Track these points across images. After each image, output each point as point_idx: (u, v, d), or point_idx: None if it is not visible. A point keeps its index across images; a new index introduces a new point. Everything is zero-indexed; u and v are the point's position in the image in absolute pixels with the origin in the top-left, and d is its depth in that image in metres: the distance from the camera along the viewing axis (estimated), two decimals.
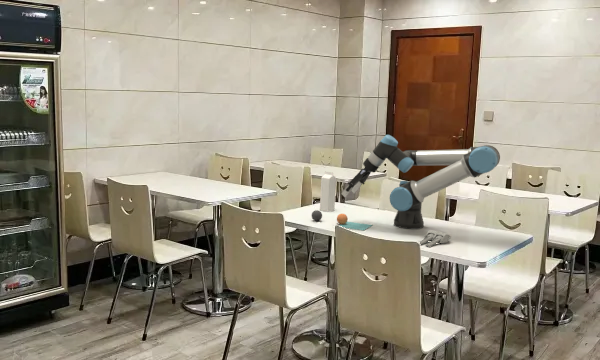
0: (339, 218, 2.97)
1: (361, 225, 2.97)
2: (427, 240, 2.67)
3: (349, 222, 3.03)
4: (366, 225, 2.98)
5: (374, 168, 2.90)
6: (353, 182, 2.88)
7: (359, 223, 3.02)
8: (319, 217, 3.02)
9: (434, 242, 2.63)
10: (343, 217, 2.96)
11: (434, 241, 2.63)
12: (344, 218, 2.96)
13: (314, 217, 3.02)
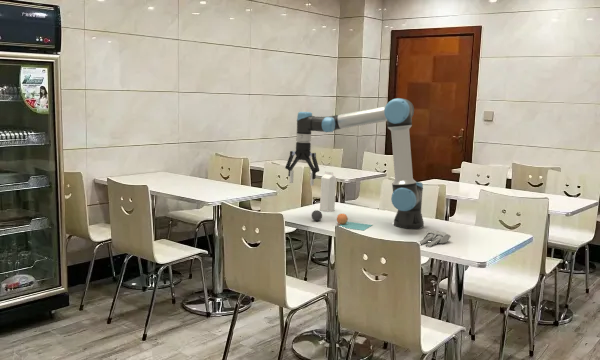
0: (339, 218, 2.97)
1: (361, 225, 2.97)
2: (427, 240, 2.67)
3: (349, 222, 3.03)
4: (366, 225, 2.98)
5: None
6: (317, 167, 3.02)
7: (359, 223, 3.02)
8: (319, 217, 3.02)
9: (434, 242, 2.63)
10: (343, 217, 2.96)
11: (434, 241, 2.64)
12: (344, 218, 2.96)
13: (314, 217, 3.02)
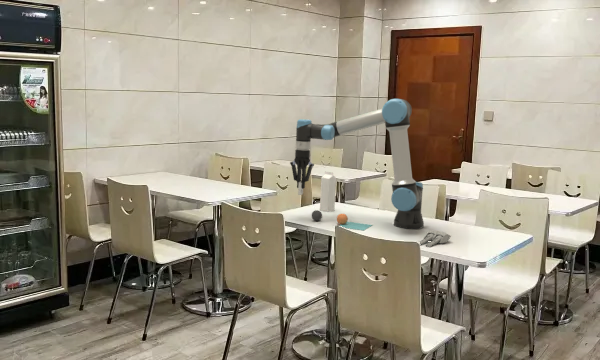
0: (339, 218, 2.97)
1: (361, 225, 2.97)
2: (427, 240, 2.67)
3: (349, 222, 3.03)
4: (366, 225, 2.98)
5: None
6: (308, 177, 3.04)
7: (359, 223, 3.02)
8: (319, 217, 3.02)
9: (434, 242, 2.63)
10: (343, 217, 2.96)
11: (434, 241, 2.64)
12: (344, 218, 2.96)
13: (314, 217, 3.02)
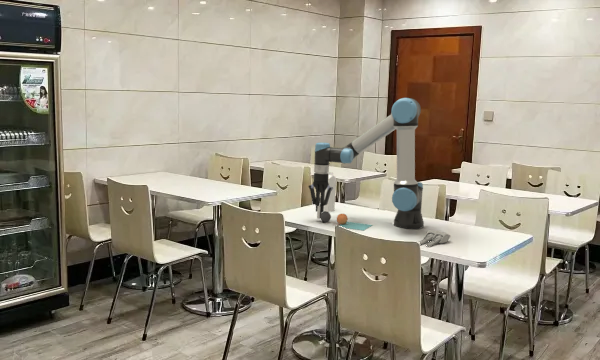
0: (339, 218, 2.97)
1: (361, 225, 2.97)
2: (427, 240, 2.67)
3: (349, 222, 3.03)
4: (366, 225, 2.98)
5: None
6: (327, 201, 3.02)
7: (359, 223, 3.02)
8: (324, 221, 3.01)
9: (434, 242, 2.63)
10: (343, 217, 2.96)
11: (434, 241, 2.64)
12: (344, 218, 2.96)
13: (322, 217, 3.00)
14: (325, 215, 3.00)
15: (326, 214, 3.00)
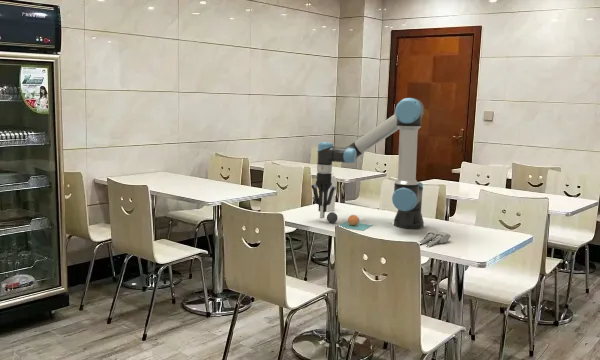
0: (353, 221, 2.94)
1: (361, 225, 2.97)
2: (427, 240, 2.67)
3: None
4: (366, 225, 2.98)
5: None
6: (330, 201, 3.01)
7: (359, 223, 3.02)
8: (327, 219, 3.01)
9: (434, 242, 2.63)
10: (352, 224, 2.95)
11: (434, 241, 2.64)
12: (351, 224, 2.95)
13: (330, 217, 2.99)
14: (332, 219, 2.99)
15: (334, 220, 2.99)
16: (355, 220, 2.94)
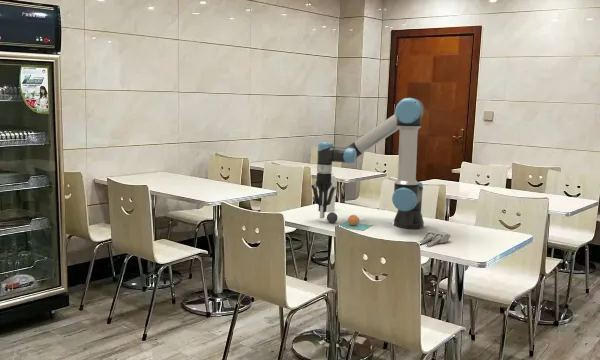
0: (353, 221, 2.94)
1: (361, 225, 2.97)
2: (427, 240, 2.67)
3: None
4: (366, 225, 2.98)
5: None
6: (330, 201, 3.01)
7: (359, 223, 3.02)
8: (327, 219, 3.01)
9: (434, 242, 2.63)
10: (352, 224, 2.95)
11: (434, 241, 2.64)
12: (351, 224, 2.95)
13: (330, 217, 2.99)
14: (332, 219, 2.99)
15: (334, 220, 2.99)
16: (355, 220, 2.94)
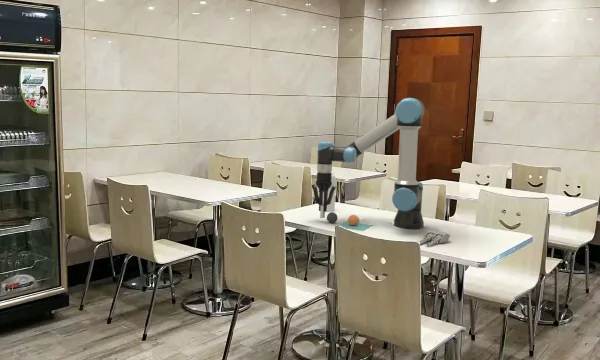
0: (353, 221, 2.94)
1: (361, 225, 2.97)
2: (427, 240, 2.67)
3: None
4: (366, 225, 2.98)
5: None
6: (330, 200, 3.01)
7: (359, 223, 3.02)
8: (327, 219, 3.01)
9: (434, 242, 2.63)
10: (352, 224, 2.95)
11: (434, 241, 2.64)
12: (351, 224, 2.95)
13: (330, 217, 2.99)
14: (332, 219, 2.99)
15: (334, 220, 2.99)
16: (355, 220, 2.94)
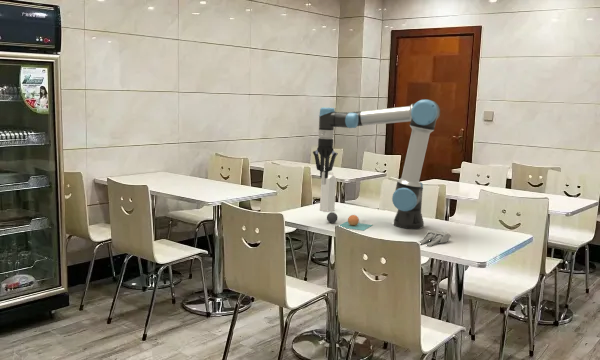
0: (353, 221, 2.94)
1: (361, 225, 2.97)
2: (427, 240, 2.67)
3: None
4: (366, 225, 2.98)
5: None
6: (332, 167, 2.98)
7: (359, 223, 3.02)
8: (327, 219, 3.01)
9: (434, 242, 2.64)
10: (352, 224, 2.95)
11: (434, 241, 2.64)
12: (351, 224, 2.95)
13: (330, 217, 2.99)
14: (332, 219, 2.99)
15: (334, 220, 2.99)
16: (355, 220, 2.94)
